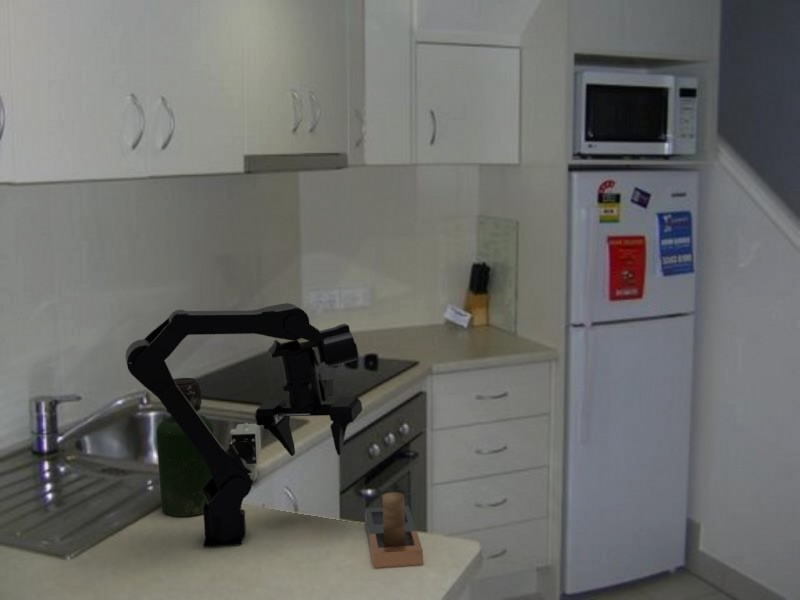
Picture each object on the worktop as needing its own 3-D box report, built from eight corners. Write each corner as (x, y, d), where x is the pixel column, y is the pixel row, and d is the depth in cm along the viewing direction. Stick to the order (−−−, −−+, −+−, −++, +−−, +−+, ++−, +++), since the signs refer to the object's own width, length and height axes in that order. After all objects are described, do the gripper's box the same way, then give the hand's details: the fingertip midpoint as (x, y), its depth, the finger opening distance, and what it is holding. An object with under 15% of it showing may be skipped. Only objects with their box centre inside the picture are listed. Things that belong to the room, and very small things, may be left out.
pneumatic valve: (263, 469, 198) (260, 415, 196) (256, 488, 186) (253, 430, 184) (237, 470, 197) (234, 416, 196) (229, 489, 186) (226, 431, 184)
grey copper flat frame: (373, 568, 147) (373, 553, 146) (365, 521, 166) (364, 508, 166) (423, 564, 148) (422, 549, 147) (408, 518, 167) (408, 505, 167)
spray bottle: (150, 514, 173) (141, 385, 170) (182, 496, 183) (174, 373, 179) (197, 520, 169) (189, 388, 166) (227, 501, 179) (220, 376, 176)
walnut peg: (385, 559, 150) (383, 500, 149) (383, 550, 154) (381, 493, 152) (406, 557, 151) (405, 499, 149) (404, 548, 154) (403, 491, 153)
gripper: (364, 355, 166) (378, 434, 170) (271, 360, 171) (287, 436, 175) (343, 378, 155) (359, 461, 159) (245, 382, 161) (262, 462, 165)
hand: (316, 454), depth 165 cm, fingers open, 9 cm apart
